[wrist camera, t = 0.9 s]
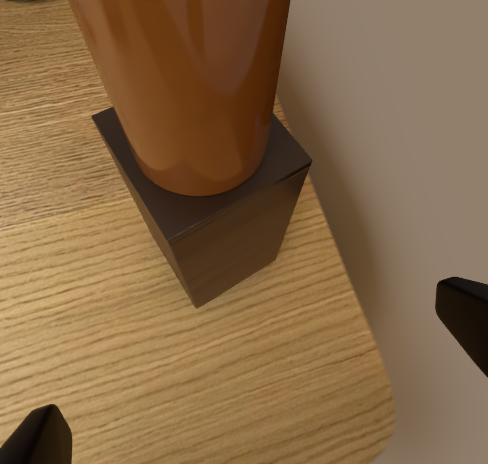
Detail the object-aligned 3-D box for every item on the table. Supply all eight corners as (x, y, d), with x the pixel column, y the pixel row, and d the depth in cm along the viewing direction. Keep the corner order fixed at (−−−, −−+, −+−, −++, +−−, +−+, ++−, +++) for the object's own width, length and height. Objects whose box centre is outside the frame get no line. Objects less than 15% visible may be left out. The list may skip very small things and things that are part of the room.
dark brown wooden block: (275, 259, 24) (313, 159, 13) (196, 309, 22) (167, 241, 12) (227, 191, 26) (226, 56, 15) (151, 233, 24) (90, 116, 14)
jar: (301, 157, 13) (422, -221, 5) (170, 229, 12) (37, -121, 4) (223, 63, 15) (217, -339, 7) (101, 117, 14) (-98, -298, 5)
